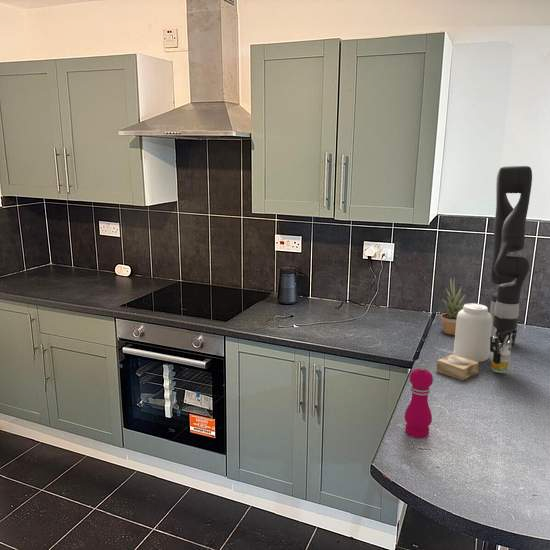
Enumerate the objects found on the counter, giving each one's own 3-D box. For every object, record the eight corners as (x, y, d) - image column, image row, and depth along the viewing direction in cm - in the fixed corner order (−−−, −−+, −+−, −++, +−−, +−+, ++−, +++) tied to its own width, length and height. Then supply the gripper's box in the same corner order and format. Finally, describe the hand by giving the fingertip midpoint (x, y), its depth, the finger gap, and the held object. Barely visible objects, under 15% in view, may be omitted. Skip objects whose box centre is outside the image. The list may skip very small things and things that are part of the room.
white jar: (494, 357, 196) (500, 306, 191) (477, 365, 188) (483, 312, 183) (463, 347, 205) (468, 299, 200) (446, 355, 197) (451, 305, 192)
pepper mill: (398, 432, 142) (403, 364, 138) (412, 422, 147) (417, 356, 143) (421, 442, 137) (427, 372, 133) (435, 432, 142) (441, 364, 138)
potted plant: (439, 327, 228) (443, 273, 223) (461, 329, 226) (467, 274, 220) (439, 335, 219) (444, 278, 213) (463, 337, 216) (469, 280, 211)
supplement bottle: (494, 365, 184) (497, 339, 182) (510, 369, 181) (513, 343, 179) (489, 370, 180) (492, 344, 178) (505, 374, 177) (508, 347, 175)
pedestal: (452, 364, 189) (453, 353, 188) (477, 373, 181) (479, 361, 180) (436, 370, 183) (437, 359, 182) (462, 380, 175) (463, 368, 174)
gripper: (506, 307, 183) (501, 352, 187) (484, 315, 174) (479, 362, 178) (527, 312, 177) (521, 359, 181) (506, 321, 168) (500, 369, 172)
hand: (500, 360), depth 180 cm, fingers closed on supplement bottle, 5 cm apart
